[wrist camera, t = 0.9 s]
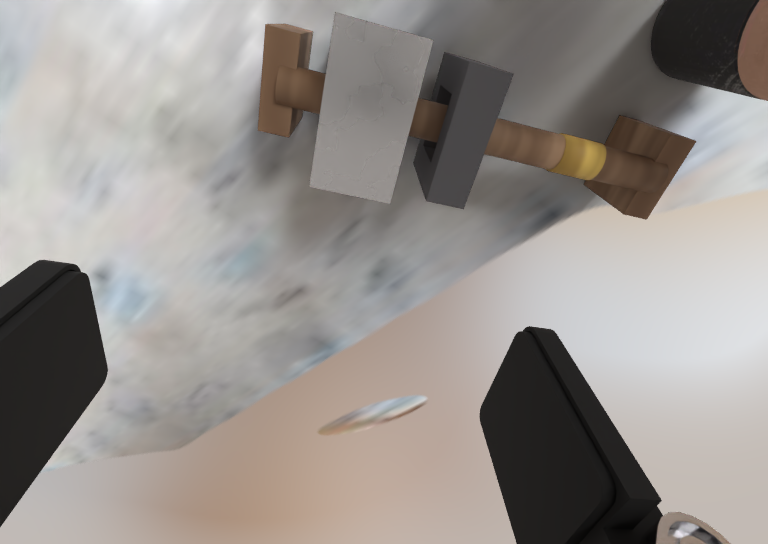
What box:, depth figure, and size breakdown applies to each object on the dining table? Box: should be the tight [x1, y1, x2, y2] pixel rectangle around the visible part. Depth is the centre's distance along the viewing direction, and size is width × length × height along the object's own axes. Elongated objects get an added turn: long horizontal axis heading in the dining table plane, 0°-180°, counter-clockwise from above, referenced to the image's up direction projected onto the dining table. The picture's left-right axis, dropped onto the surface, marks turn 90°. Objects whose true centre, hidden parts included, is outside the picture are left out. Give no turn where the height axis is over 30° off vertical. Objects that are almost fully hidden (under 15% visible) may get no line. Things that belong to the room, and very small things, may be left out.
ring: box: [413, 52, 513, 209], centre depth 27 cm, size 2×8×8 cm, turn 166°
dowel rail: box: [258, 24, 696, 219], centre depth 29 cm, size 29×6×7 cm, turn 77°
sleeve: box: [309, 12, 433, 204], centre depth 26 cm, size 5×9×9 cm, turn 166°
